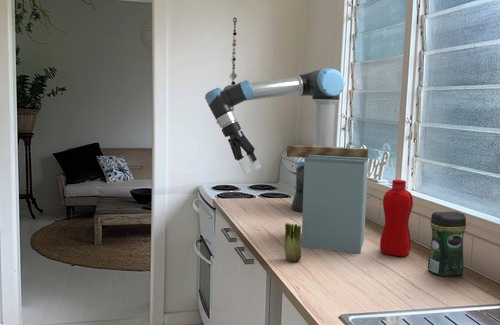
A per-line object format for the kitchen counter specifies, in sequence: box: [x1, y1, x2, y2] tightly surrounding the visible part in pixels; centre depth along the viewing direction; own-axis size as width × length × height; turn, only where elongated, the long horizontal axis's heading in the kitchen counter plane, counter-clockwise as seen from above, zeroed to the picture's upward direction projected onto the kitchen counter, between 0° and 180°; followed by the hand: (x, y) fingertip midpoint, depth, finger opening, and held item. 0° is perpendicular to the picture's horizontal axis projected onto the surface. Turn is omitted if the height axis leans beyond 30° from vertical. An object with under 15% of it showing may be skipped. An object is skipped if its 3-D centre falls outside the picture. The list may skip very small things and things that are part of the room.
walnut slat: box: [286, 144, 369, 161], centre depth 170 cm, size 29×4×4 cm, turn 72°
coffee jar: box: [427, 211, 467, 277], centre depth 139 cm, size 10×8×19 cm
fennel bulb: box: [284, 222, 302, 263], centre depth 147 cm, size 6×5×12 cm
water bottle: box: [379, 179, 414, 257], centre depth 157 cm, size 9×11×25 cm
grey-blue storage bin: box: [301, 155, 369, 254], centre depth 166 cm, size 18×20×31 cm
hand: (253, 170), depth 190 cm, fingers open, 13 cm apart
